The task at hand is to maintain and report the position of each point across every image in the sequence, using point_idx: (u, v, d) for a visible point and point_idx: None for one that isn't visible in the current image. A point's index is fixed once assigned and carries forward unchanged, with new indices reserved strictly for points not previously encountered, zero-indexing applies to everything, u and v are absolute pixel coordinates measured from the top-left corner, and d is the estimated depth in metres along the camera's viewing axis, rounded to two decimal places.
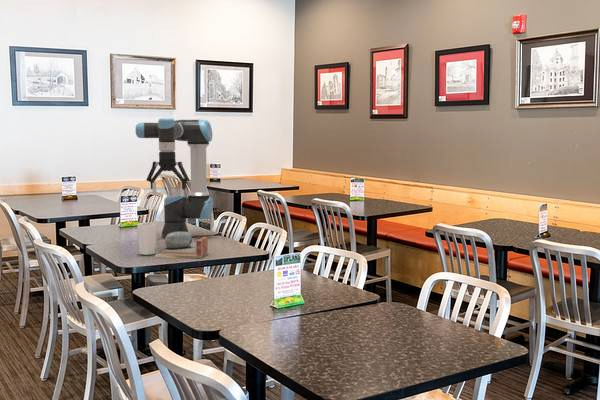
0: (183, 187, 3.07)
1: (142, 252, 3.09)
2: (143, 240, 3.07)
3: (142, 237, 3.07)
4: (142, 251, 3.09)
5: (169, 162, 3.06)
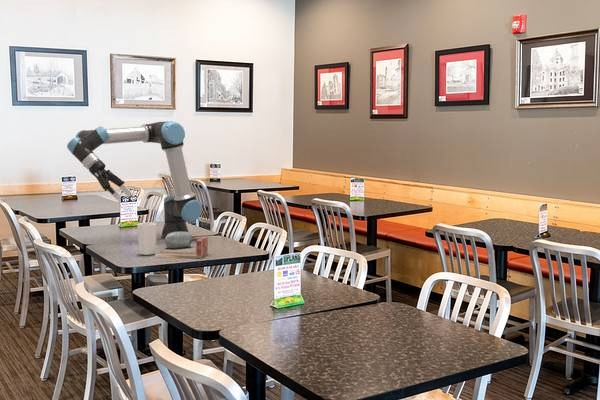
0: None
1: (142, 252, 3.09)
2: (143, 240, 3.07)
3: (142, 237, 3.07)
4: (142, 251, 3.09)
5: None
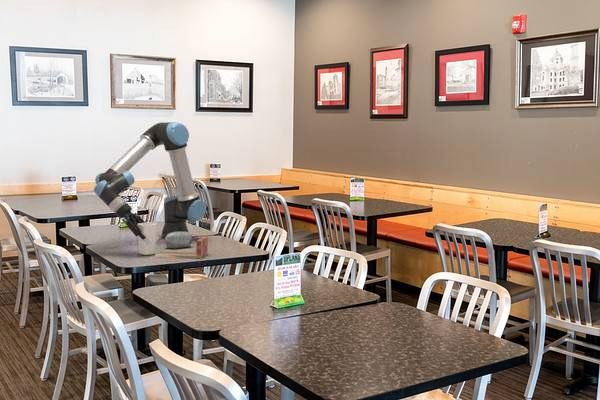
0: None
1: (142, 252, 3.09)
2: None
3: None
4: (142, 251, 3.09)
5: None
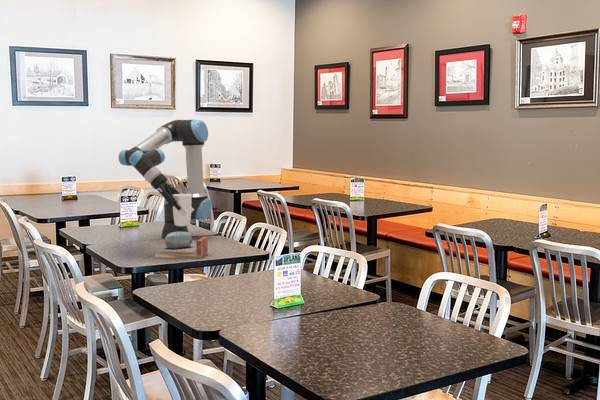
0: None
1: (177, 223, 3.04)
2: (178, 211, 3.02)
3: None
4: (177, 222, 3.04)
5: None
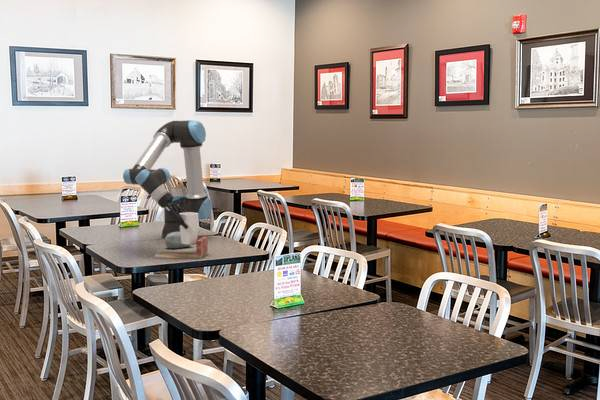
0: None
1: (184, 242, 3.05)
2: None
3: None
4: (184, 241, 3.05)
5: None
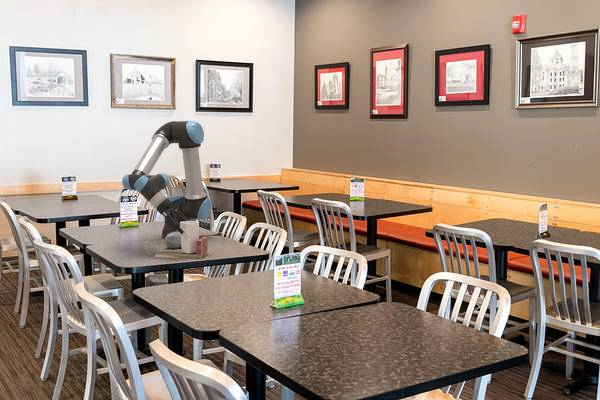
0: None
1: (185, 251, 3.06)
2: None
3: None
4: (185, 250, 3.06)
5: None
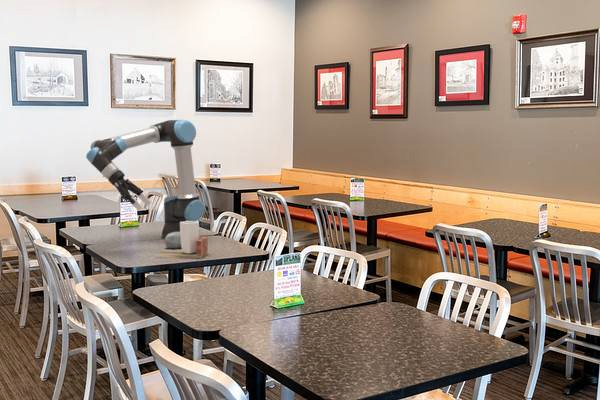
0: None
1: (185, 251, 3.06)
2: (186, 239, 3.04)
3: (185, 236, 3.04)
4: (185, 250, 3.06)
5: None
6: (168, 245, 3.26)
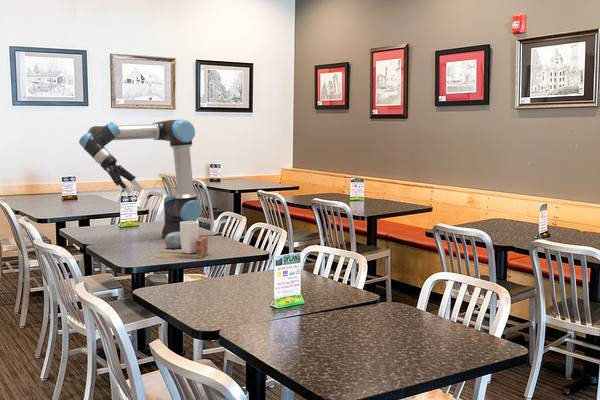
0: None
1: (185, 251, 3.06)
2: (186, 239, 3.04)
3: (185, 236, 3.04)
4: (185, 250, 3.06)
5: None
6: (168, 245, 3.26)
